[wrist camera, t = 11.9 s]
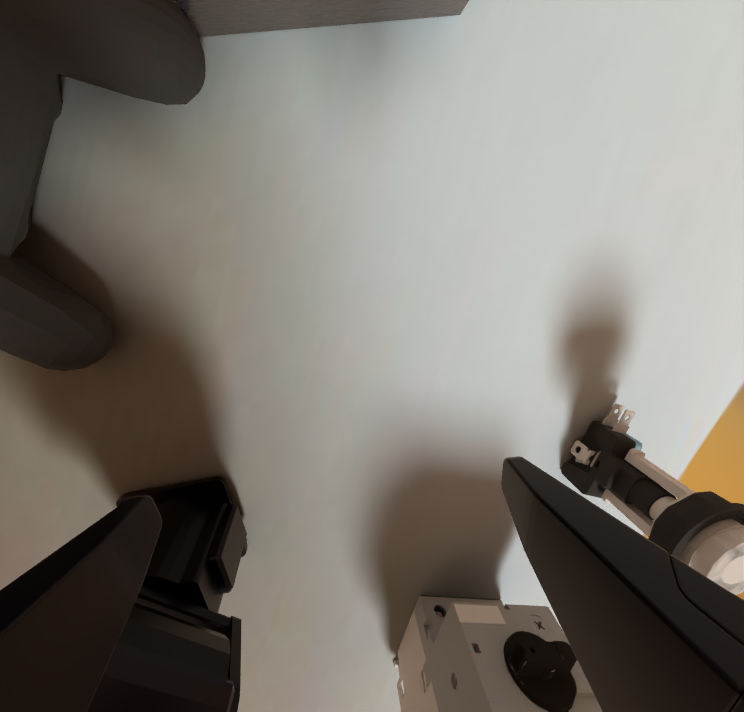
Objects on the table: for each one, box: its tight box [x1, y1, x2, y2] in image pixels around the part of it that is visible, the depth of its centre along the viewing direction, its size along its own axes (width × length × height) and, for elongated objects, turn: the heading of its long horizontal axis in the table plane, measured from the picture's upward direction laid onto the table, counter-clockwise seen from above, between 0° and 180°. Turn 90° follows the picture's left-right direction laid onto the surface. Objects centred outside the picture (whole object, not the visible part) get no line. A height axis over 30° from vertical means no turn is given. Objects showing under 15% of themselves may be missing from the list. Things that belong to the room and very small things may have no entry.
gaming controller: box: [0, 0, 205, 371], centre depth 14 cm, size 17×6×10 cm
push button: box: [561, 404, 744, 595], centre depth 21 cm, size 7×5×10 cm
